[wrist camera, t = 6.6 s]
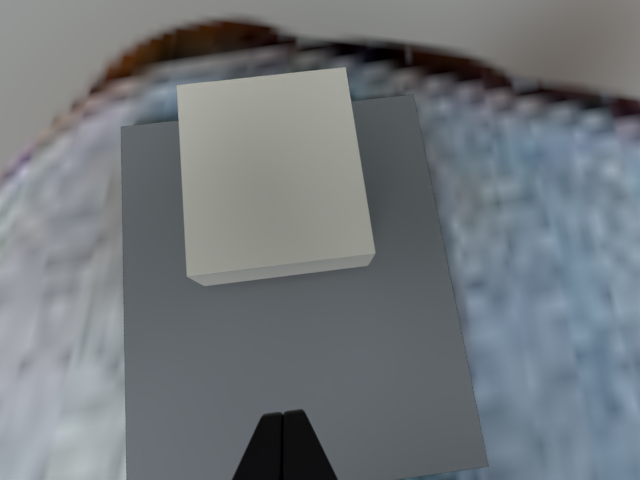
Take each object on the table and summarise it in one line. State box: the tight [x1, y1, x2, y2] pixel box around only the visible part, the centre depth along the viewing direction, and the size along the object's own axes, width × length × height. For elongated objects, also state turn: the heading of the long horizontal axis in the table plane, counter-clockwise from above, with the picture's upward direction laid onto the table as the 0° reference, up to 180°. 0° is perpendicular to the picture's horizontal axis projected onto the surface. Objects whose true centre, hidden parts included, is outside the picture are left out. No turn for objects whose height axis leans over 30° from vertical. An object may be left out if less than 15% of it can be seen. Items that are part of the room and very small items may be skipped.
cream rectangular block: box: [177, 67, 376, 286], centre depth 18 cm, size 3×7×8 cm
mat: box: [121, 94, 489, 480], centre depth 19 cm, size 16×14×1 cm
